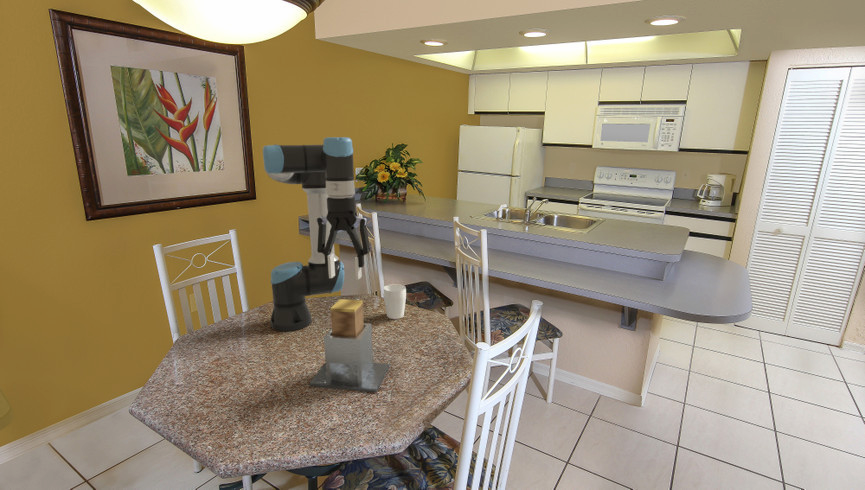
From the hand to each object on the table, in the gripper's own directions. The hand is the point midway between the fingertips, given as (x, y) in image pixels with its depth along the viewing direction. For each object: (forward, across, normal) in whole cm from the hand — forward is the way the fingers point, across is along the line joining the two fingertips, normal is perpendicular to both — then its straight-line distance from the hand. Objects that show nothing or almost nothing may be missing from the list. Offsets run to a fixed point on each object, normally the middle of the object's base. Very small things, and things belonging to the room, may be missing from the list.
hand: (345, 277), depth 120 cm
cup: (+31, +2, +46) cm, 56 cm away
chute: (+31, 0, 0) cm, 31 cm away
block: (+22, 0, 0) cm, 22 cm away
